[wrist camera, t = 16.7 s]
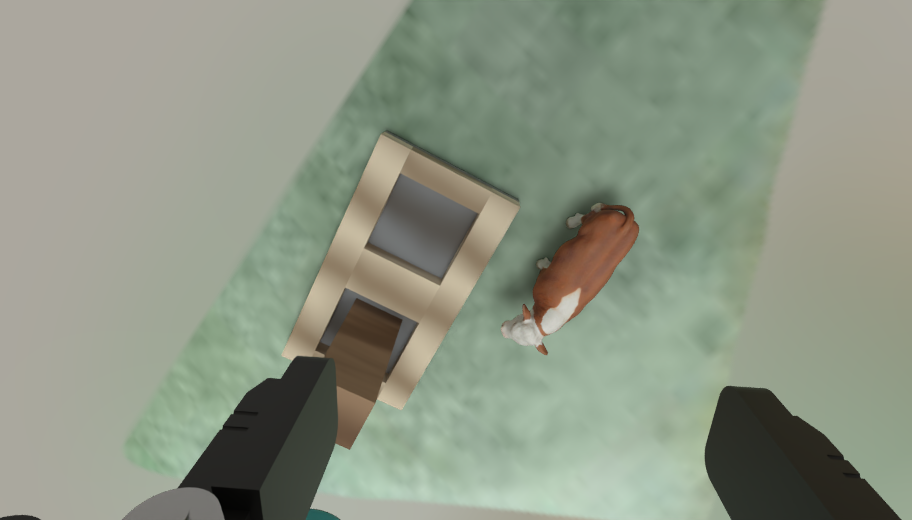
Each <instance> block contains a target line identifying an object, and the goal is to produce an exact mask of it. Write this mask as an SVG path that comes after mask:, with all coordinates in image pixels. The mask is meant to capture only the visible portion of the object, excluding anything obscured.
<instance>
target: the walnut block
mask: <svg viewBox="0 0 912 520" xmlns="http://www.w3.org/2000/svg"><path fill="white" fill-rule="evenodd" d="M401 323H402V319H400V318H398V317H396V316H394V315H392V314H389V313H387V312H385V311H383V310H381V309H379V308H377V307H375V306H373V305H370V304H368V303H366V302H364V301H362V300H360V299H358V298H356V300H355V302H354V304H353V305H352V307H351V309H350V311H349V313H348V314H347V316H346V318H345V320H344V322H343V323H342V325H341V327H340V329H339V331H338V332H337V334H336V336H335V338H334V340H333V341H332V343H331V345H330V347H329V349H328V350H327V352H326V354H325V356H324V358H333V359H334V362H335V367H336V385H337V405H338V430H337V437H336V442H335V443H336V444H338V445H340V446H343V447H345V448H347V449H350V448H351V446H352V445H353V443H354V441H355V439H356V437H357V436H358V434H359V432H360V430H361V428H362V426H363V425H364V423H365V421H366V419H367V417H368V415H369V414H370V412H371V410H372V408H373V406H374V405H375V402H376V399H377V396H378V393H379V390H380V387H381V384H382V381H383V378H384V375H385V372H386V369H387V366H388V363H389V360H390V357H391V354H392V351H393V347H394V344H395V341H396V338H397V335H398V332H399V329H400V326H401Z"/></svg>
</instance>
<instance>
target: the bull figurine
mask: <svg viewBox="0 0 912 520" xmlns="http://www.w3.org/2000/svg"><path fill="white" fill-rule="evenodd" d="M615 210H618V211H623V212H624V214H625V215H623V214H622V213H620V212H618V211H615ZM580 224H583V225H582V226H581V227H580V229H579V231H578V235H577V236H576V237H575V238H573V239H571V240H569V241H567V242H565V243H564V244H563V245H562V246H560V248H559V249H558V250H557V252H556V253H555V255H554V257H553V260H552V262H549V260H548V258H544V260H542V259H539V260H538V261H537V262H536V266H537V268H538V269H542V270H541V271H540V273H539V276H538V278H537V280H536V283H535V285H534V288H533V298H534V302H535V304H534V306H533V308H532V310H530V311H529V310H528V308H527V307H526V305H525V304H523V305H522V306H523V314H520V315H518V316H517V317H515V318H514V319H513V320H512V321H510V320H508V321H505V322H504V323H503V324H502V327H501V332H502V334H503V336H504V337H505V338H512V339H513V340H514V341H516V342H517V343H518V344H521V345H525V346H528V345H535V346H536V348H537V350H538V351H539V352H541V353H542V354H544V355H547V354H548V352H547V350H546V348H545V346H544V344H543V343H542V339H543V337H544V336H546V335H550V334H552V333H554V332H556V331H557V330H559V329H560V328H561V327H562V326H563V325H564V324H565V323H566V322H568V321H570V320H571V319H572V318H574V317H575V316H577V315H578V314H579V313H580V312H581V311H582V309H583V308H584V307H585V306H586V305H587V304H588V303H589V302H590V301H591V300H592V299H593V298H594V297H595V296H596V295H597V294H598V292H599V291H600V290H601V289H602V288H603V286H604V285H605V284H606V283H607V281H608V280H609V279H610V277H611V275H612V273H613V272H614V270H615V268H616V266H617V265H618V264H619V263H620V262H621V260H622V259H623V258H624V257H625V256H626V254H627V253H628V252H629V250H630V249H631V247H632V246H633V244H634V242H635V240H636V238H637V236H638V233H639V226H638V224H637V223H636V222H635V221H634V214H633V212H632V211H631V209H630V208H628V207H626V206H622V205H606V204H603V203H597V204H595V205H593V206H592V207H591V211H590V212H589V213H588V214H586V215H582V214H579V213H576V214H575V216H574V217H569V218H568V219H567V220H566V226H567V227H568V228H569V229H572V228H575V227H577V226H579V225H580Z"/></svg>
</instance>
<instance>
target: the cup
mask: <svg viewBox="0 0 912 520" xmlns="http://www.w3.org/2000/svg"><path fill="white" fill-rule="evenodd" d="M306 520H340V519H339V518H337V517H336V516H334V515H332V514H330V513H328V512H325V511H322V510H317V509H310V510H309V512H308V515H307V517H306Z"/></svg>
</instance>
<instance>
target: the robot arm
mask: <svg viewBox="0 0 912 520" xmlns="http://www.w3.org/2000/svg"><path fill="white" fill-rule="evenodd" d="M337 430H338V405H337V385H336V367H335V362H334V359H333V358H324V357H310V356H296V357H295V358H294V359H293V361H292V362H291V364H290V365H289V367H288V368H287V370H286V372H285V373H284V375H283V376H282V378H281V379H275V378H267V379H266V380H264V381H263V382H262V383H260V384H259V385H257V386H256V387H254V388H253V389H251V390H250V391H249V392H247V393H246V395H245V396H244V397H243V399H242V400H241V402H240V403H239V404H238V406H237V407H236V408H235V410H234V414H231V415H230V417H229V418H228V419H227V421H226V422H225V424H224V425H223V429H222V430H219V432H218V433H217V435H216V436H215V437H214V439H213V440H212V441H211V443H210V444H209V446H208V447H207V448H206V450H205V451H204V452H203V454H202V455H201V457H200V458H199V459H198V461H197V462H196V464H195V465H194V466H193V468H192V469H191V470H190V472H189V473H188V475H187V476H186V477H185V479H184V480H183V481H182V483H181V484H180V486H179V487H178V488H177V489H173V490H169V491H166V492H163V493H160V494H158V495H155V496H153V497H151V498H149V499H148V500H146V501H144V502H142V503H141V504H139V505H138V506H136V507H135V508H134V509H133V510H132V511H131V512H129V513H128V514H127V515H126V516H125V517H124V518H123V519H122V520H306V517H307V515H308V512H309V510H310V507H311V504H312V502H313V499H314V497H315V494H316V492H317V489H318V487H319V484H320V482H321V479H322V477H323V474H324V472H325V469H326V467H327V464H328V462H329V459H330V457H331V454H332V452H333V449H334V446H335V442H336V437H337ZM705 465H706V470H707V473H708V476H709V479H710V481H711V483H712V484H713V486H714V488H715V490H716V492H717V494H718V496H719V498H720V499H721V501H722V503H723V505H724V507H725V509H726V511H727V512H728V514H729V516H730V518H731V520H901V519H900V518H899V517H898V515H897V514H896V513H895V512H894V511H893V510H892V509H891V508H890V507H889V505H888V504H887V503H886V502H885V501H884V500H883V499H882V498H881V497H880V496H879V494H877V492H876V491H875V490H874V489H873V488H872V487H871V486H870V485H869V484H868V482H867V481H866V480H865V479H861V478H860V474H859V473H858V471H857V470H856V469H855V468H854V467H853V466H852V465H851V464H850V462H849V461H847V460H844V457H843V455H842V454H841V453H840V452H839V451H838V449H837V448H836V447H835V446H834V445H833V444H832V443H831V442H830V440H829V439H828V438H827V437H826V436H825V435H824V434H822V433H821V432H820V431H818V430H817V429H815V428H814V427H812V426H811V425H809V424H808V423H807V422H805V421H803V420H802V419H801V418H799V417H798V416H792V414H791V413H790V412H789V411H788V410H787V409H786V408H785V406H784V405H782V403H781V402H780V401H779V400H778V399H777V397H776V396H775V395H774V394H773V393H772V392H771V391H770V390H768V389H765V388H751V387H735V386H726V387H725V388H723V390H722V391H721V393H720V396H719V399H718V403H717V407H716V410H715V414H714V417H713V421H712V425H711V428H710V432H709V435H708V439H707V443H706V447H705ZM0 520H40V519H39V518H36V517H33V516H28V515H14V516H7V517H2V518H0Z"/></svg>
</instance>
